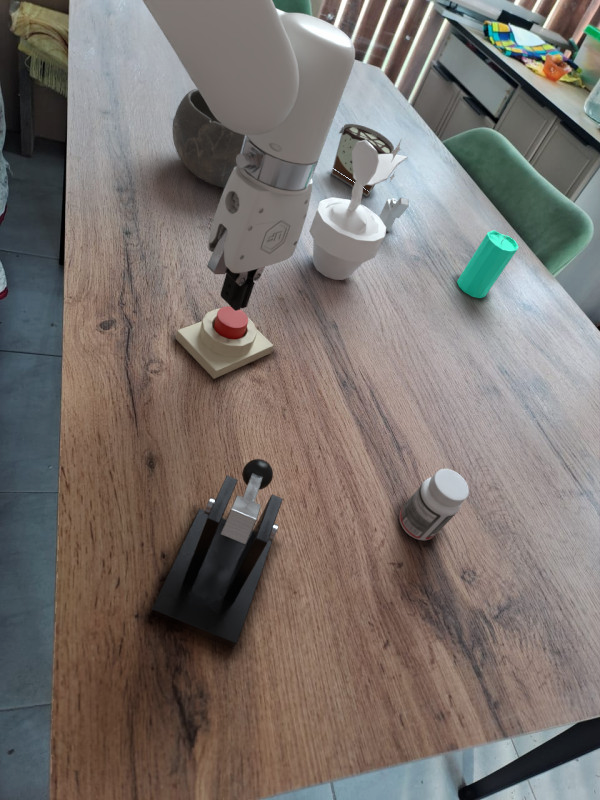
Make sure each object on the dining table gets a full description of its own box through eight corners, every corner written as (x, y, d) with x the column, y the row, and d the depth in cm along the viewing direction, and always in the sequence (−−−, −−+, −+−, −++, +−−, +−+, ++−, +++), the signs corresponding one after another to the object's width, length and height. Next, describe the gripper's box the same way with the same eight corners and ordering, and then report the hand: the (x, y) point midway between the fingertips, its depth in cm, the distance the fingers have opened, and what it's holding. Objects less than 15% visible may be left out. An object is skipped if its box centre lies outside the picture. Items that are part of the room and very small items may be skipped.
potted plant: (323, 296, 89) (389, 143, 72) (285, 251, 94) (337, 98, 77) (380, 286, 96) (453, 145, 79) (342, 244, 101) (402, 103, 84)
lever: (240, 475, 58) (251, 450, 57) (267, 487, 58) (278, 461, 57) (214, 535, 45) (227, 503, 44) (249, 549, 45) (263, 518, 45)
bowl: (198, 209, 95) (213, 135, 86) (148, 151, 102) (157, 77, 93) (282, 201, 105) (303, 135, 96) (232, 149, 112) (247, 83, 103)
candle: (491, 292, 107) (528, 238, 98) (477, 302, 103) (515, 246, 94) (465, 273, 109) (500, 219, 100) (451, 282, 105) (486, 226, 96)
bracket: (197, 514, 58) (223, 439, 49) (270, 544, 58) (309, 475, 49) (149, 614, 50) (171, 547, 41) (234, 648, 50) (273, 589, 41)
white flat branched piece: (378, 218, 112) (395, 181, 107) (386, 220, 113) (403, 183, 107) (383, 238, 108) (401, 200, 102) (391, 240, 108) (410, 203, 103)
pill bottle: (431, 507, 68) (467, 468, 62) (439, 543, 65) (477, 506, 59) (395, 502, 67) (428, 461, 61) (401, 539, 63) (436, 500, 58)
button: (227, 343, 71) (231, 331, 69) (207, 323, 72) (210, 311, 71) (250, 333, 73) (254, 322, 72) (231, 314, 75) (234, 302, 73)
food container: (386, 193, 121) (406, 148, 114) (373, 200, 117) (393, 154, 110) (339, 163, 123) (356, 118, 116) (325, 170, 119) (342, 123, 112)
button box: (213, 379, 71) (219, 359, 68) (175, 338, 73) (179, 318, 71) (271, 353, 77) (278, 334, 74) (233, 316, 79) (239, 297, 77)
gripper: (246, 191, 51) (204, 339, 63) (349, 174, 60) (294, 305, 73) (195, 146, 53) (164, 298, 66) (302, 137, 63) (257, 270, 75)
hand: (233, 301), depth 69 cm, fingers closed
